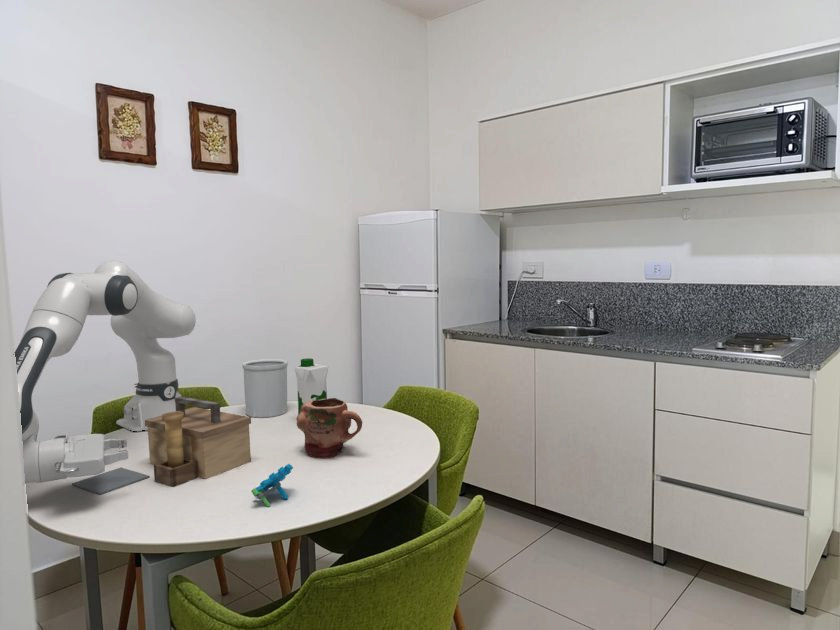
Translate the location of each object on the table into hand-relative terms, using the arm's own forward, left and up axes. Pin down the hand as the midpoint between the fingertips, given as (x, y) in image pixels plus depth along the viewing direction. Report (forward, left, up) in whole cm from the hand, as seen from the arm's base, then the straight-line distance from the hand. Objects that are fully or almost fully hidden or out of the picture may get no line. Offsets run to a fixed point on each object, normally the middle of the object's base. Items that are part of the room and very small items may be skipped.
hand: (127, 448), depth 134 cm
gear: (+34, +12, -10) cm, 37 cm away
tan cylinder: (+5, +9, -9) cm, 14 cm away
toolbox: (0, +16, -9) cm, 18 cm away
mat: (-8, 0, -9) cm, 12 cm away
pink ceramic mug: (+25, +41, -10) cm, 49 cm away
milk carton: (0, +62, -10) cm, 63 cm away
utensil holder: (-22, +63, -10) cm, 68 cm away
